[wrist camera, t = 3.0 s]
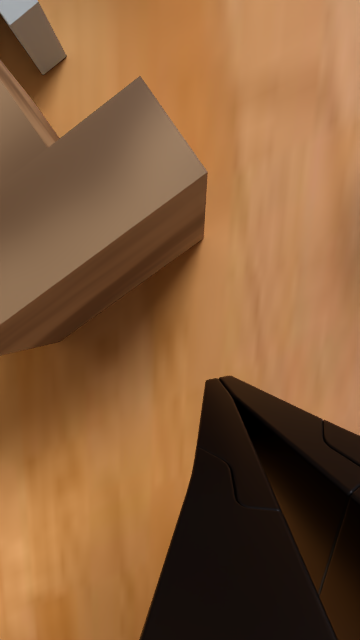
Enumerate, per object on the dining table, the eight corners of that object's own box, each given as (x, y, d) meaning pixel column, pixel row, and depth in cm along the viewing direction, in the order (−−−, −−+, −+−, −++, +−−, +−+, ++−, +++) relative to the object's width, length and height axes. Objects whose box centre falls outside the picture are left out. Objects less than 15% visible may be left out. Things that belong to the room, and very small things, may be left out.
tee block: (203, 238, 20) (207, 172, 10) (59, 341, 21) (-62, 369, 11) (81, 64, 20) (-27, -163, 10) (-57, 174, 21) (-275, 60, 11)
